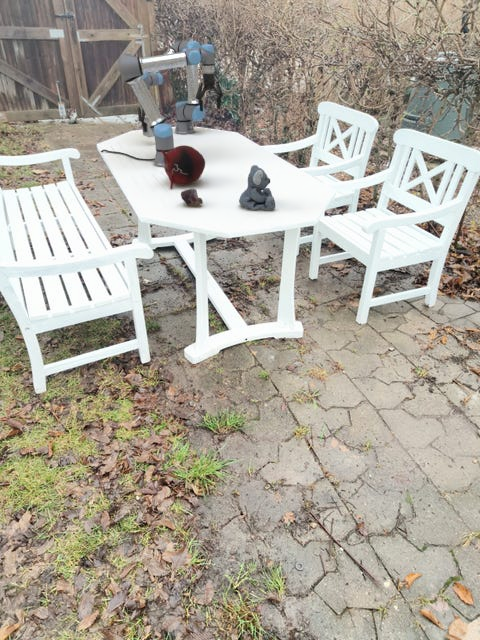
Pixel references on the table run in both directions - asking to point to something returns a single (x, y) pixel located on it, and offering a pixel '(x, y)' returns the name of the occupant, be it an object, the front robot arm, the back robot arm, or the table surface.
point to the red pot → (183, 165)
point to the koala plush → (257, 191)
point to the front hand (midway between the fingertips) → (210, 109)
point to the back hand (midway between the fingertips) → (149, 130)
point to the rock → (191, 197)
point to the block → (148, 130)
